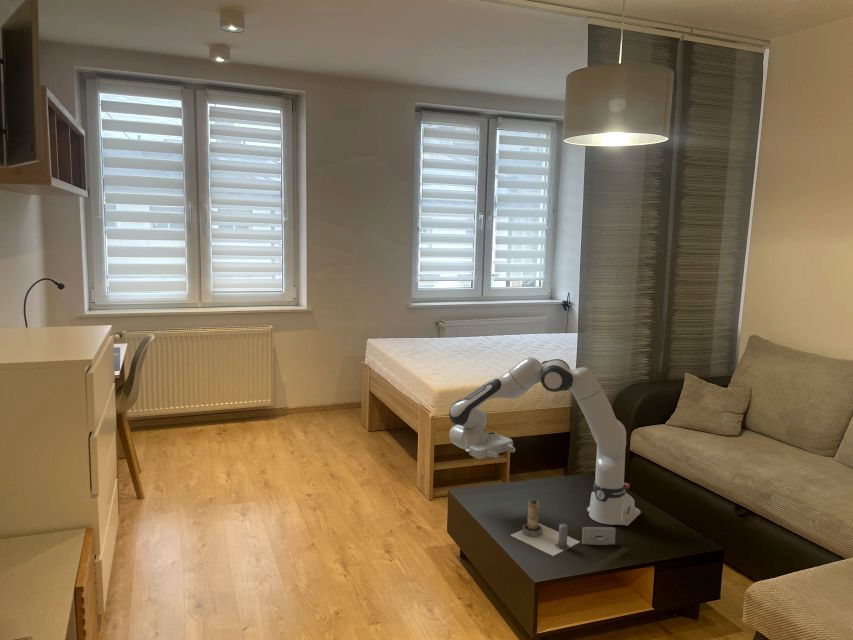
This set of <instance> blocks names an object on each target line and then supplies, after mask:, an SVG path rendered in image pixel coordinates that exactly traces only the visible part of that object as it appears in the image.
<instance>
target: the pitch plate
mask: <svg viewBox="0 0 853 640" xmlns="http://www.w3.org/2000/svg"><path fill="white" fill-rule="evenodd" d="M568 527H569V526H568V525H567V524H566V523H560V524H559V525H558V531H557V530H555V529H552V528H550V527H548V526H546V525H543V524H542V523H539V522H538V531H529V530H527V523H525V524H522V529H521V530H519V531H516V532H514V533H512V534H510V536H511V537H513V538H514V539H517V540H519V541H522V542H524V543H525V544H528V545H529V546H532V547H533V548H536V549H538V550H540V551H542V552H543V553H546V554H547V555H551V556H552V557H554V556H556V555H558V554H560V553H562V552H564V551H567V550H569V549H570V548H571V547H573V546H575V545H577V544H579V543H581V541H579V539H578V540H577V539H575V538H572V537H571V536H569V535H568Z"/></svg>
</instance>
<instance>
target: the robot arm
mask: <svg viewBox="0 0 853 640" xmlns="http://www.w3.org/2000/svg"><path fill="white" fill-rule="evenodd" d="M539 383H541V385H542V387H543V388H544V389H545V390H546V391H548V392H552V393H557V392H564V391H569V390H570V391H571V393H572V395H573V396H574V399H575V400H576V402H577V405H578V406H579V408H580V410H581V412H582V414H583V416H584V417H585V420H586V423H587V425H588V427H589V429H590V433H591V434H592V438H593V439H594V441H595V444H596V459H595V460H596V461H595V477H594V478H595V480H594V481H593V486H592V487H593V491H592V492H591V494H590V502H589V506H588V507H587V508H586V510H587V512H588V515H589V517H590V519H592V520H593V521H595V522H596V523H600V524H604V525H610V526H611V525H613V526H615V525H618V526H619V525H620V526H629V525H630V524H631V523H632V522H634V521H635V520H636V519H637V517H638V516H640V515H641V510H640V509H639V508H637V507H635V502H636V501H635V499H634V497H632V496H631V495H630V494H628V493H627V491H626V489H627V490H629V489H630V483H627V482H625V466H626V447H627V430H626V428H625V425H624V424H623V423H622V422H621V421H620V420H618V419H617V417H616V415H615V412H614V410H613V407H612V405H611V403H610V401H609V399H608V397H607V395H606V393H605V392H604V389H603V388H602V386H601V384H600V383H599V381H598V379H597V378H596V377H595V375H594V373H593V372H592V370H591V369H589V368H588V367H585V366H582V367H577V368H575V369H571V368H570V366H569V364H568V362H566V361H565V360H563V359H559V358H554V359H549V360H544V361H542V362H541V361H539V359H537V358H535V357H532V356H528V357H526V358H523V359H522V360H521V361H520V362H518V363H516V364H514V366H513V367H511V368H510V369H509V370H508V371H507V372H505V373H504V374H501V375H500V376H498V377H496V378H494V379H490V380H489V381H487V382H485V383H484V384H483V385H481V386H479V387H478V388H477V389H475V390H474V391H472V392H471V393H469V394H468V395H467V396H465V397H463V398H460V399H458V400H456V401H455V402H453V404H451V406H450V408H449V410H448V411H449V412H448V414H449V419H450V422H451V423H452V424H453V426H452V427H451V428H450V430H449V434H448V436H449V440H450V441H451V443H452V444H453V445H454V446H456V447H457V448H459V449H462V450H464V451H465V452H467V453H468V454H469V456H471V457H473V458H475V459H477V460H482V459H485V458H495V459H497V458H499V457H500V453H503V452H507V451H509V453H515V452H516V448H515V447H514V441H513V439H511V438H509V437H506V436H503V435H500V434H498V433H497V432H496V431H495V432H484V431H485V429H486V428H487V424H488V422H489V421H488V420H489V419H488V414H487V413H486V411H484V410H483V409H481V408H479V407H480V406H481V405H483V404H484V403H485V402H487V401H488V400H489V401H490V400H491V399H497V398H501V399H510V400H512V399H517V398H519V397H521V396H523V395H525V393H527V392H528V391H529V390H530V389H531V388H532V387H534V386H535V385H536V384H539Z"/></svg>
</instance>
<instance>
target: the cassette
mask: <svg viewBox="0 0 853 640" xmlns="http://www.w3.org/2000/svg"><path fill="white" fill-rule="evenodd" d="M616 531H617V530H616V527H607V526H606V527H601V526H599V527H595V526H593V527H592V526H591V527H589V526H587V527H586V526H583V527H582V532H581V533H582V534H581V545H591V546H592V545H598V546H599V545H600V546H604V545H606V546H609V545H616Z"/></svg>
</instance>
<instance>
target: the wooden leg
mask: <svg viewBox="0 0 853 640" xmlns="http://www.w3.org/2000/svg"><path fill="white" fill-rule="evenodd" d="M529 499H530V500H528V501H527V522H526V524H527V530H529V531H538V523H539V513H540V512H539V511H540V510H539V509H540V501H538V500H537V498H529Z"/></svg>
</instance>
